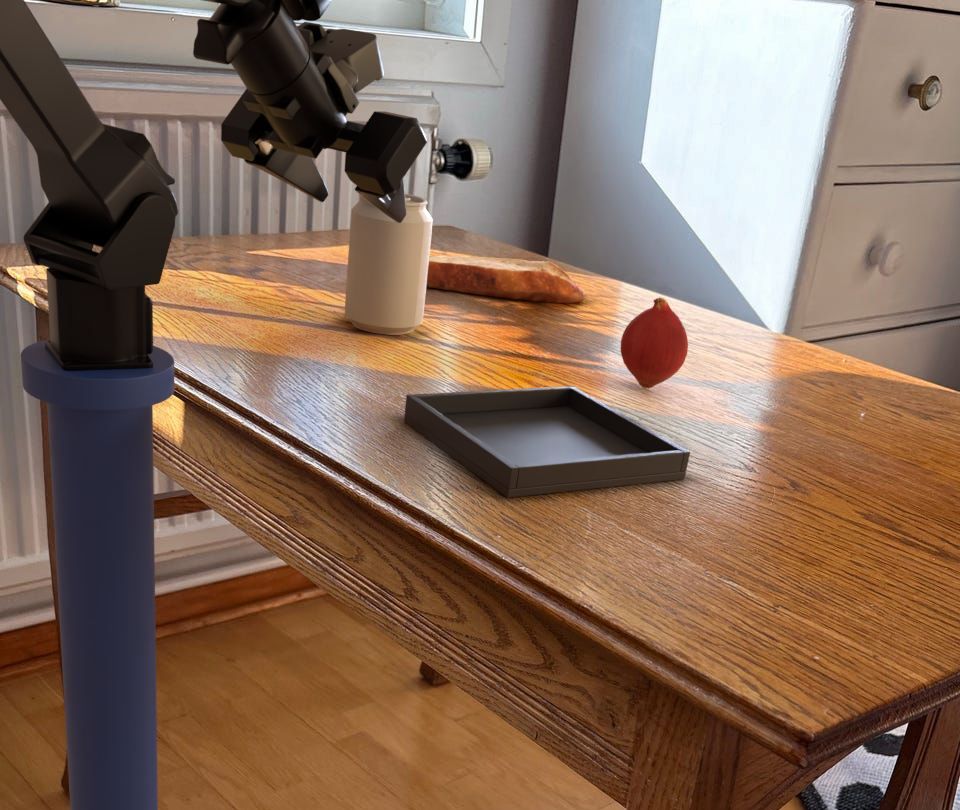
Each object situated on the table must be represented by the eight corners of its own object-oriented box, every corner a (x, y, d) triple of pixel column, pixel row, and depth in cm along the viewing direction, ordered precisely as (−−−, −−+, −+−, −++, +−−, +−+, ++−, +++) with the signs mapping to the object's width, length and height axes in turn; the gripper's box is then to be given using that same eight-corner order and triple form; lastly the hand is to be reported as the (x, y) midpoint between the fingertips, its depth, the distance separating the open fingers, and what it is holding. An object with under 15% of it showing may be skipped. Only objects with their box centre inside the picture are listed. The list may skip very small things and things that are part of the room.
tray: (507, 498, 77) (511, 468, 76) (403, 421, 88) (406, 394, 87) (684, 479, 85) (690, 451, 84) (568, 410, 96) (572, 385, 95)
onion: (641, 374, 108) (658, 287, 104) (691, 393, 105) (710, 303, 101) (601, 382, 104) (617, 291, 101) (651, 401, 101) (670, 308, 97)
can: (378, 312, 117) (388, 185, 111) (437, 330, 113) (451, 200, 107) (327, 321, 111) (335, 188, 105) (388, 341, 108) (399, 204, 102)
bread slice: (375, 274, 131) (378, 240, 130) (488, 266, 143) (492, 234, 141) (487, 315, 121) (492, 279, 119) (599, 303, 133) (604, 269, 131)
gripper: (423, 2, 87) (492, 156, 101) (248, -24, 96) (333, 121, 110) (345, 116, 85) (426, 258, 99) (174, 79, 94) (269, 214, 108)
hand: (362, 208), depth 104 cm, fingers open, 9 cm apart
